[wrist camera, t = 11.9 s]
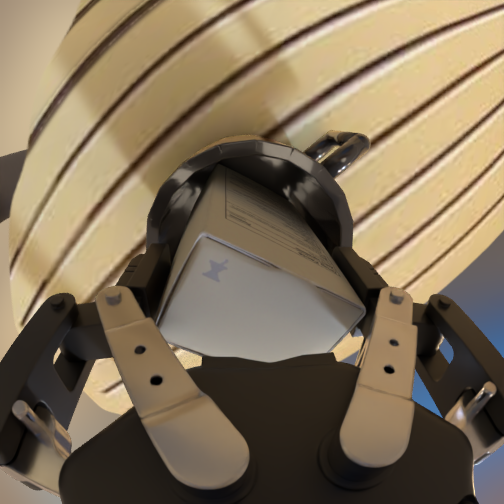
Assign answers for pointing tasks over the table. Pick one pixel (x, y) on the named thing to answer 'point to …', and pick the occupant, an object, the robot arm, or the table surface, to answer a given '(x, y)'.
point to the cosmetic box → (253, 279)
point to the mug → (266, 183)
